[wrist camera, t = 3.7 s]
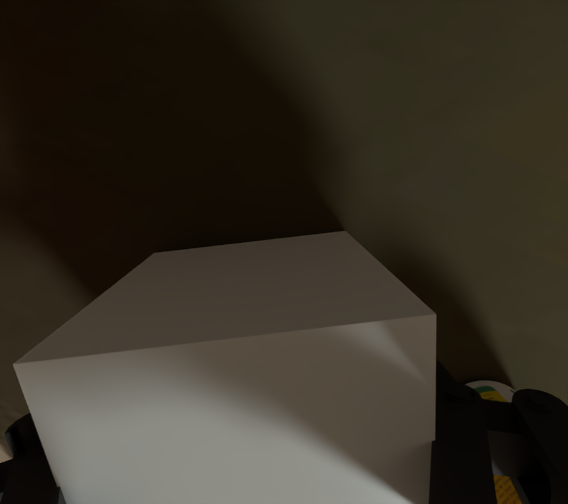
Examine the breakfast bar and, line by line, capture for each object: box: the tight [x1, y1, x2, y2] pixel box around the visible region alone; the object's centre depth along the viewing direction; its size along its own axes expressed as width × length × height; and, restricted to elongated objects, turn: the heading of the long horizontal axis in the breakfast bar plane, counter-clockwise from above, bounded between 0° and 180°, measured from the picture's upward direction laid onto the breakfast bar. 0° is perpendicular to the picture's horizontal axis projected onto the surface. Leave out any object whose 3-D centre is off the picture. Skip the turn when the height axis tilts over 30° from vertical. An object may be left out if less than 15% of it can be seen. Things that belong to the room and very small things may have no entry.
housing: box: [13, 231, 436, 504], centre depth 13 cm, size 9×9×9 cm
